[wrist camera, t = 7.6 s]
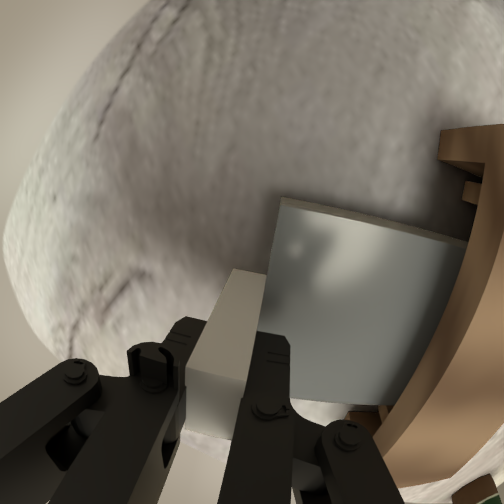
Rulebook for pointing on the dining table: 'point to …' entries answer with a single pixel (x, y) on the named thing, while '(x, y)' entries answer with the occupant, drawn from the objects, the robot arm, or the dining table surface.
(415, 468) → the walnut arch bridge
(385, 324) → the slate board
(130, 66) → the dining table surface
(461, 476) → the dining table surface
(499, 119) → the dining table surface
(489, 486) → the beer bottle
